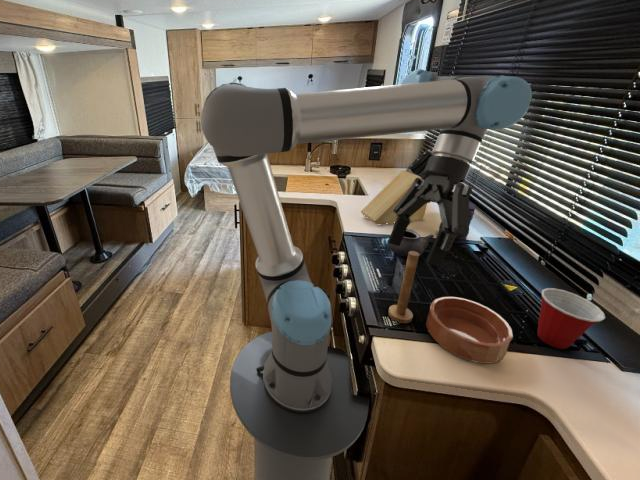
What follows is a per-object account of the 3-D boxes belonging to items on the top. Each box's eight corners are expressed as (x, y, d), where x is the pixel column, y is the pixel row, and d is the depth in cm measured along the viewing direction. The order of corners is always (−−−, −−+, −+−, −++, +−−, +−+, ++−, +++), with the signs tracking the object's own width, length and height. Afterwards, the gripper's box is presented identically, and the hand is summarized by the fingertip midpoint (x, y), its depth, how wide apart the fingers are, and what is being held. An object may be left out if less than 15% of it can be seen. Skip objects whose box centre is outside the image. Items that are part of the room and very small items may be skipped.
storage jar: (450, 244, 120) (460, 209, 114) (431, 233, 129) (439, 200, 123) (472, 241, 122) (482, 207, 116) (452, 230, 130) (460, 197, 125)
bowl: (434, 355, 73) (440, 336, 71) (419, 308, 88) (423, 292, 85) (518, 373, 68) (527, 353, 66) (488, 320, 83) (494, 303, 81)
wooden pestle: (389, 320, 84) (402, 257, 76) (386, 306, 89) (399, 245, 81) (414, 325, 82) (430, 261, 74) (409, 310, 87) (424, 249, 80)
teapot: (437, 261, 109) (443, 237, 105) (391, 258, 112) (395, 234, 108) (418, 236, 126) (423, 214, 123) (378, 234, 129) (382, 212, 125)
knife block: (441, 218, 142) (457, 152, 130) (374, 227, 135) (385, 158, 123) (422, 208, 152) (436, 147, 140) (359, 217, 145) (368, 152, 133)
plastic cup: (592, 366, 69) (616, 325, 65) (529, 346, 75) (547, 307, 70) (576, 334, 78) (596, 296, 73) (521, 318, 83) (536, 282, 79)
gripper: (524, 168, 52) (473, 281, 55) (426, 163, 76) (393, 242, 79) (487, 153, 51) (436, 269, 54) (399, 154, 76) (367, 233, 78)
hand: (411, 253), depth 66 cm, fingers open, 13 cm apart
